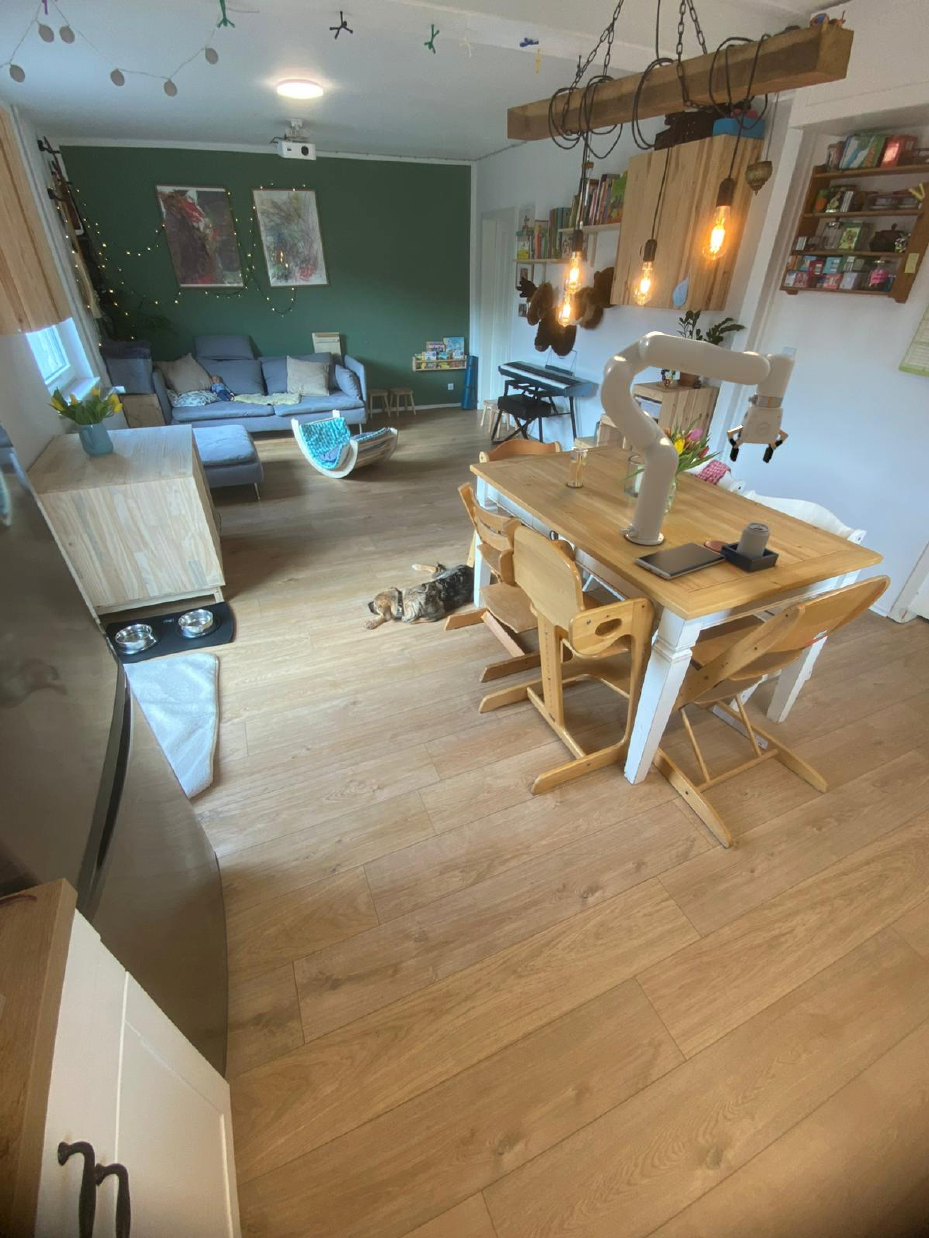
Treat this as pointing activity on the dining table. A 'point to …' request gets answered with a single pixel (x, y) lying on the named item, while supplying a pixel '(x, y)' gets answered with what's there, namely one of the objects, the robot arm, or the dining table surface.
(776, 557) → the dark square tray
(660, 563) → the smartphone
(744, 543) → the can
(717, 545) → the coaster
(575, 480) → the beer glass
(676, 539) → the dining table surface
